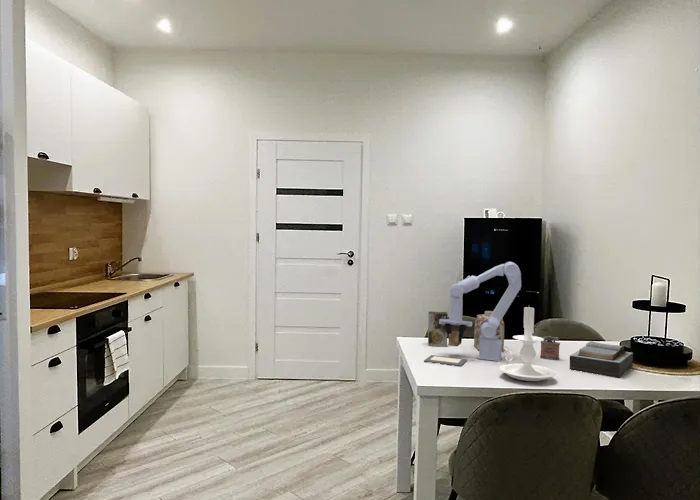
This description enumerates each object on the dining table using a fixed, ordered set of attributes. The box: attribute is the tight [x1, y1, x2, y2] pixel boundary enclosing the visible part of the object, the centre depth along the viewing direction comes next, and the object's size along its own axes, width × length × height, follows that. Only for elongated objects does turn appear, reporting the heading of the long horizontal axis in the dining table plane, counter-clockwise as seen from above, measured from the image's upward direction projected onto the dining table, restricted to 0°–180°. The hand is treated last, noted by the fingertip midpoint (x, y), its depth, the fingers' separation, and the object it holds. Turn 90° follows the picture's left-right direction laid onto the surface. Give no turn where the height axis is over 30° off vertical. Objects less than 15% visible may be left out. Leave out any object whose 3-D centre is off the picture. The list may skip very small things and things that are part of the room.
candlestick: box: [499, 306, 557, 382], centre depth 209 cm, size 21×25×28 cm
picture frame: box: [423, 354, 468, 368], centre depth 232 cm, size 16×12×1 cm
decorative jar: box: [473, 310, 505, 353], centre depth 259 cm, size 12×12×18 cm
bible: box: [569, 340, 634, 379], centre depth 226 cm, size 23×27×10 cm
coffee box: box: [427, 311, 449, 347], centre depth 265 cm, size 9×6×16 cm
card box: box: [447, 331, 462, 347], centre depth 243 cm, size 4×8×5 cm, turn 156°
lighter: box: [539, 335, 561, 361], centre depth 241 cm, size 8×3×10 cm, turn 62°
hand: (455, 341), depth 243 cm, fingers closed on card box, 4 cm apart
